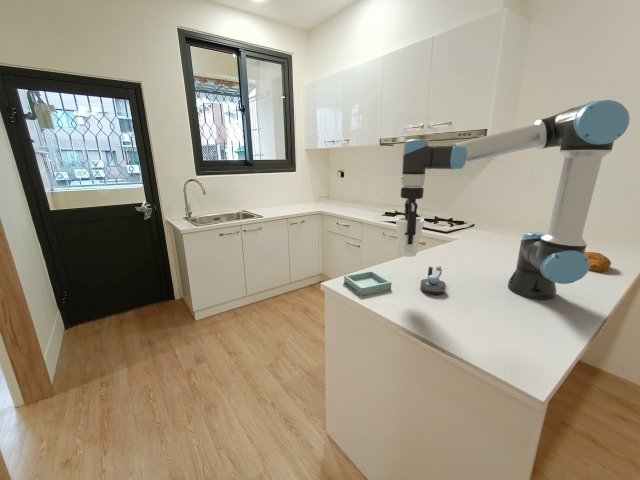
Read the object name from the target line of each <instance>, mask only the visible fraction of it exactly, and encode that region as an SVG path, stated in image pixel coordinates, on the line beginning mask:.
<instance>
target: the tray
mask: <svg viewBox="0 0 640 480" xmlns="http://www.w3.org/2000/svg"><path fill="white" fill-rule="evenodd" d="M343 283H344V284H346V285H347V286H348V287H349V288H351V289H352V290H353V291H355V292H356V293H358V295H360V296H361V297H362V296H365V295H366V296H367V295H371V294H376V293H381V292H385V291H389V290H392V281H390V280H388V279H387V278H385V277H383V276H382V275H380V274H379V273H377V272H376V271H373V270H367V271H364V272H363V271H362V272H358V273H352V274H346V275H344V276H343Z"/></svg>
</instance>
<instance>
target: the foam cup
mask: <svg viewBox="0 0 640 480" xmlns="http://www.w3.org/2000/svg"><path fill="white" fill-rule="evenodd" d="M424 221H425V220H424V218H421V217H416V231H415V232H416V234H415V235H414V247H413V253H405V243H406V235H405V233H407V220H405V216H401V217H397V218H396V222H395V226H396V235H397V237H396V239H397V240H396V241H397V249H398V250H397V251H398V252H397V253H398V255H399V256H402V257H406V258H410V257H411V258H413V257H416V256H417V253H418V250H419V249H418V248H419V244H420V240H421V236H422V231H423V228H424ZM410 231H411V230H410Z"/></svg>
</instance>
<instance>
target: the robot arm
mask: <svg viewBox="0 0 640 480" xmlns="http://www.w3.org/2000/svg"><path fill="white" fill-rule="evenodd" d="M630 119H631V118H630V113H629V110H628V109H627V107H625V106H624V105H623V104H622V103H621V102H619V101H616V100H612V99H602V100H595V101H590V102H588V103H586V104H585V103H584V104H582V105H579V106H576V107H572V108H569V109H566V110H564V111H562V112H558V113H556V114H554V115H551V116H549V117H546V118H541V119H538V120H536V121H535V122H534V124H529V125H527V126H526V125H525V126H521V127H518V128H513V129H509V130H505V131H501V132H497V133H493V134H488V135H485V136H481V137H476V138H473V139H468V140H465V141H460V142H457V143H456V142H455V143H452V144H448V145H429V141H428V139H420V138H419V139H407V140H406V141H405V142H404V147H403V155H402V172H401V173H402V176H400V177H399V179H400V180H401V186H402V187H401V188H400V198H401V199H406V200H405V203H404V217H405V220H407V233H405V235H406V243H405V253H413V247H414V235H415V234H416V232H415V231H416V218H417V214H418V213H417V211H418V203H417V202H416V201H417V200H421V199H423V198H424V186H425V180H426V170H452V171H455V170H461V169H463V168H464V167H465V165H466V163H470V162H471V163H472V162H474V161H479V160H484V159H487V158H493V157H497V156H501V155H505V154H506V155H507V154H512V153H515V152H519V151H520V152H521V151H525V150H528V149H533V148H536V149H539V150H542V149H547V148H554V147H560V149H559V153H560V154H561V155H562V156H563V157H564V158H563V159H564V160H563V162H562V167H561V173H560V175H559V181H558V185H557V190H556V194H555V198H554V203H553V208H552V212H551V216H550V222H549V225H548V229H547V232H537V231H528V232H527V231H526V232H524V233H523V234H522V237H521V239H520V245H519V251H518V256H517V262H516V269H515V271H514V272H513V273H512V274H511V276H510V278H509V280H508V284H507V288H508V290H510V291H511V292H513V293H514V294H517V295H520V296H522V297H525V298H531V299H535V300H536V299H537V300H552V299H555V297H556V295H557V286H556V284H559V285H560V284H561V285H568V284H573V283H576V282H577V281H580V280H582V279H583V278H584V277H585V276H586V275H588V271H590V270H589V267H590V264H589V260H588V259H587V257H586V256H585V255H584V252H585V251H586V248H587V244H588V243H587V242H586V241H585V239H584V238H583V235H584V230H585V227H586V222H587V220H588V219H587V218H588V214H589V212H590V207H591V204H592V199H593V195H594V192H595V187H596V185H597V180H598V176H599V171H600V168H601V166H602V165H601V164H602V160H603V158H604V157H605V156H608V155H609V154H610V153H612V150H613V147H614V143H615V141H617V140H618V139H620V138H621V137H622V135H624V134H625V133H626V131H627V129H628V127H629V125H630ZM410 230H411V231H410Z"/></svg>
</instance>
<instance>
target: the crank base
mask: <svg viewBox="0 0 640 480" xmlns="http://www.w3.org/2000/svg"><path fill="white" fill-rule="evenodd" d="M433 270H434V269H433V266H428V269H427V271H428V272H427V277H428V276H429V275H432V273H433V272H434V271H433ZM420 291H421V292H423V294H427V295H430V296H442V295H445V293H446V283H445V282H444V281H443V280H440V279H439V284H430V283H428V278H423V279H421V281H420Z"/></svg>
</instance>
